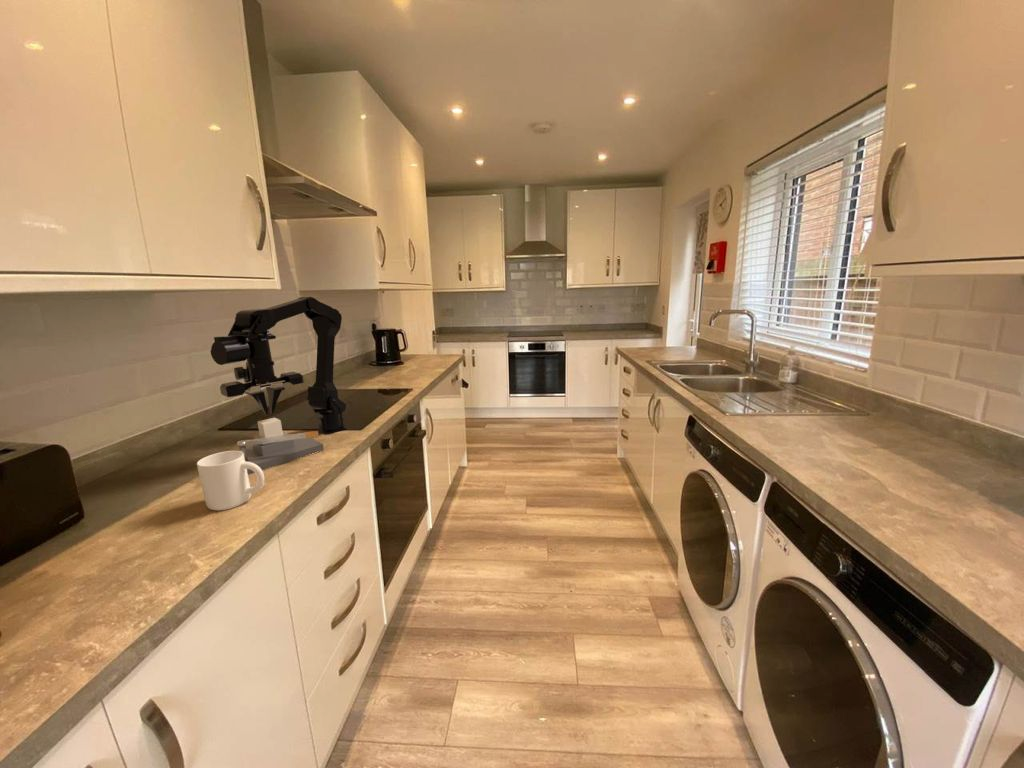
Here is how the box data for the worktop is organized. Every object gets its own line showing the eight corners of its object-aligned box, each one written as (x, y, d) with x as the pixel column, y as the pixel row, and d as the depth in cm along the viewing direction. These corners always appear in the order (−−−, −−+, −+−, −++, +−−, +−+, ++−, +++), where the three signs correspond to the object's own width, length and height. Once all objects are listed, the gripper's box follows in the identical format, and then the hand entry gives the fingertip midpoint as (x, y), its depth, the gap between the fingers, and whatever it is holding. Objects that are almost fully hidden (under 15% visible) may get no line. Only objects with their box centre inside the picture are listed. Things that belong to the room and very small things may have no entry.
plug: (282, 441, 119) (277, 415, 117) (291, 447, 114) (286, 420, 113) (256, 449, 114) (251, 421, 112) (264, 454, 110) (259, 426, 108)
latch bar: (318, 434, 112) (317, 430, 112) (317, 436, 110) (317, 432, 110) (238, 445, 106) (238, 440, 106) (236, 448, 104) (235, 443, 104)
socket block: (302, 439, 126) (299, 421, 125) (323, 450, 116) (321, 431, 115) (226, 460, 112) (222, 440, 110) (244, 475, 102) (240, 454, 101)
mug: (276, 489, 94) (268, 448, 92) (258, 508, 86) (249, 463, 84) (220, 494, 93) (211, 452, 91) (197, 513, 85) (187, 467, 83)
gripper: (283, 350, 120) (291, 401, 124) (208, 360, 106) (220, 417, 110) (300, 353, 113) (308, 407, 117) (222, 364, 99) (234, 425, 103)
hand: (269, 414), depth 112 cm, fingers closed
